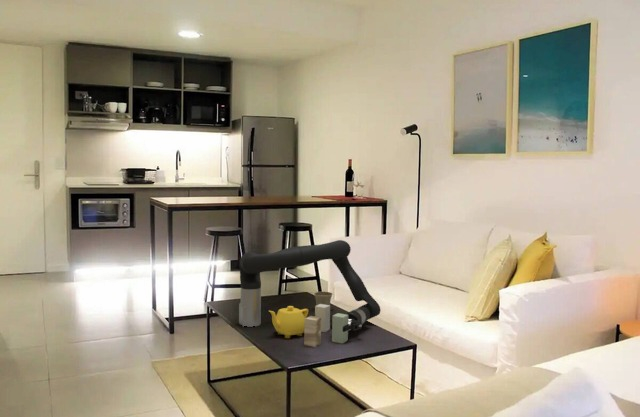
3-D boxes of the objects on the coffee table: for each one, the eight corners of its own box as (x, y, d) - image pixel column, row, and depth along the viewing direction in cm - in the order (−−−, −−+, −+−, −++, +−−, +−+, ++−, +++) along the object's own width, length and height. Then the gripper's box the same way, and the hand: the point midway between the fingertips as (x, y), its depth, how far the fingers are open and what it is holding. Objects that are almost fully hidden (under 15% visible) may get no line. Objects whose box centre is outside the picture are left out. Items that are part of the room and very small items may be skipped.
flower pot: (319, 313, 278) (319, 296, 277) (310, 309, 286) (310, 292, 286) (335, 311, 282) (335, 294, 282) (326, 307, 291) (327, 290, 290)
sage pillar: (342, 343, 232) (343, 317, 232) (331, 341, 235) (332, 315, 234) (347, 340, 237) (348, 314, 236) (337, 338, 239) (337, 313, 238)
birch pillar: (314, 346, 227) (315, 320, 227) (304, 344, 230) (304, 318, 229) (320, 343, 232) (321, 317, 231) (310, 341, 234) (310, 315, 233)
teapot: (260, 334, 243) (261, 306, 242) (299, 327, 254) (300, 300, 253) (276, 342, 232) (276, 313, 231) (316, 335, 243) (316, 307, 242)
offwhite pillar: (324, 332, 248) (325, 307, 247) (314, 330, 250) (315, 306, 249) (329, 329, 252) (330, 305, 251) (319, 327, 254) (320, 303, 254)
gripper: (340, 308, 251) (322, 317, 236) (369, 312, 244) (353, 322, 229) (339, 324, 252) (322, 334, 237) (369, 329, 245) (352, 340, 230)
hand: (337, 328), depth 233 cm, fingers closed on sage pillar, 5 cm apart
